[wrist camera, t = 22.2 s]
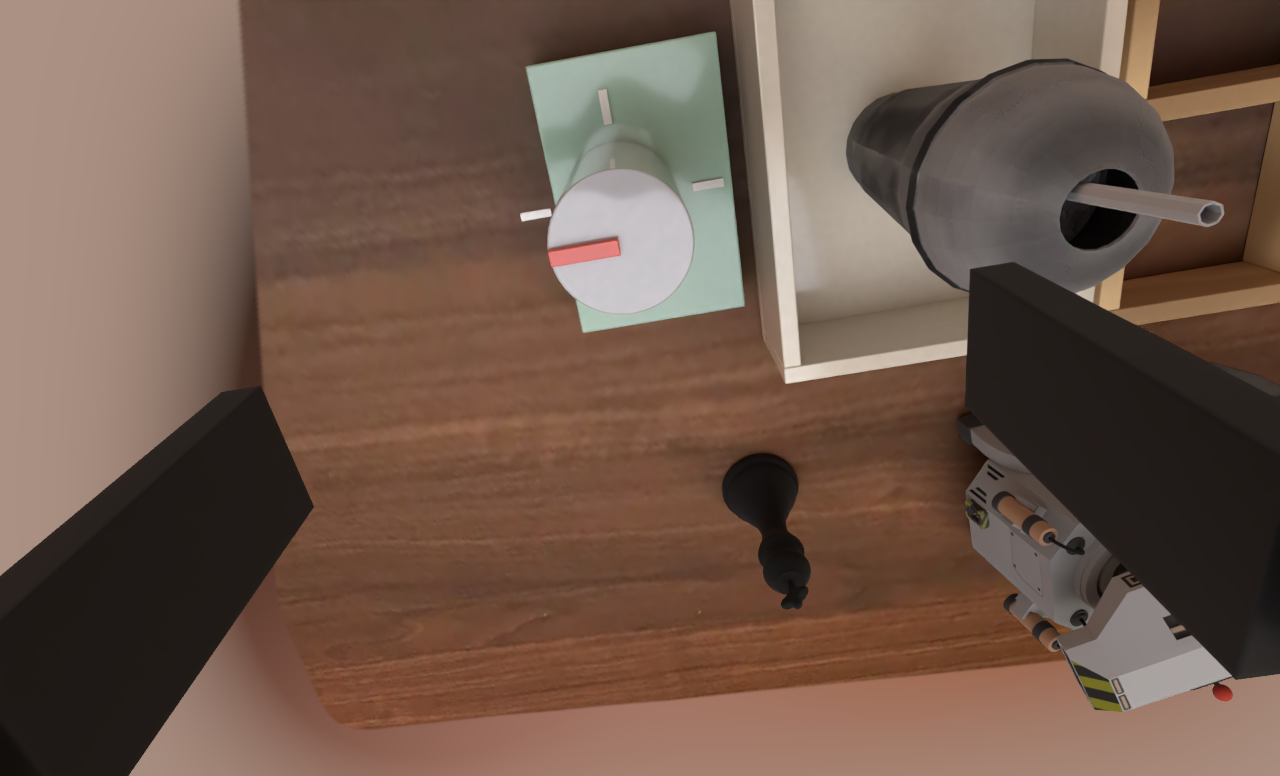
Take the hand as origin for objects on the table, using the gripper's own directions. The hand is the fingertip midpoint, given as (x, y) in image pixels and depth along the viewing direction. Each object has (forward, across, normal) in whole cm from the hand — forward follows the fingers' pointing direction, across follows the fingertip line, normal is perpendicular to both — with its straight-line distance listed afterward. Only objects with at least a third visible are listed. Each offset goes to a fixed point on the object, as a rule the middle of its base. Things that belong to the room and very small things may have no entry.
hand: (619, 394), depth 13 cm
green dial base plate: (+23, +1, 0) cm, 23 cm away
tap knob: (+20, 0, 0) cm, 20 cm away
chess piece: (+23, +5, -18) cm, 30 cm away
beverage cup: (+22, +13, 0) cm, 26 cm away
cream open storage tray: (+23, +13, 0) cm, 26 cm away
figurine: (+23, +21, -19) cm, 36 cm away
